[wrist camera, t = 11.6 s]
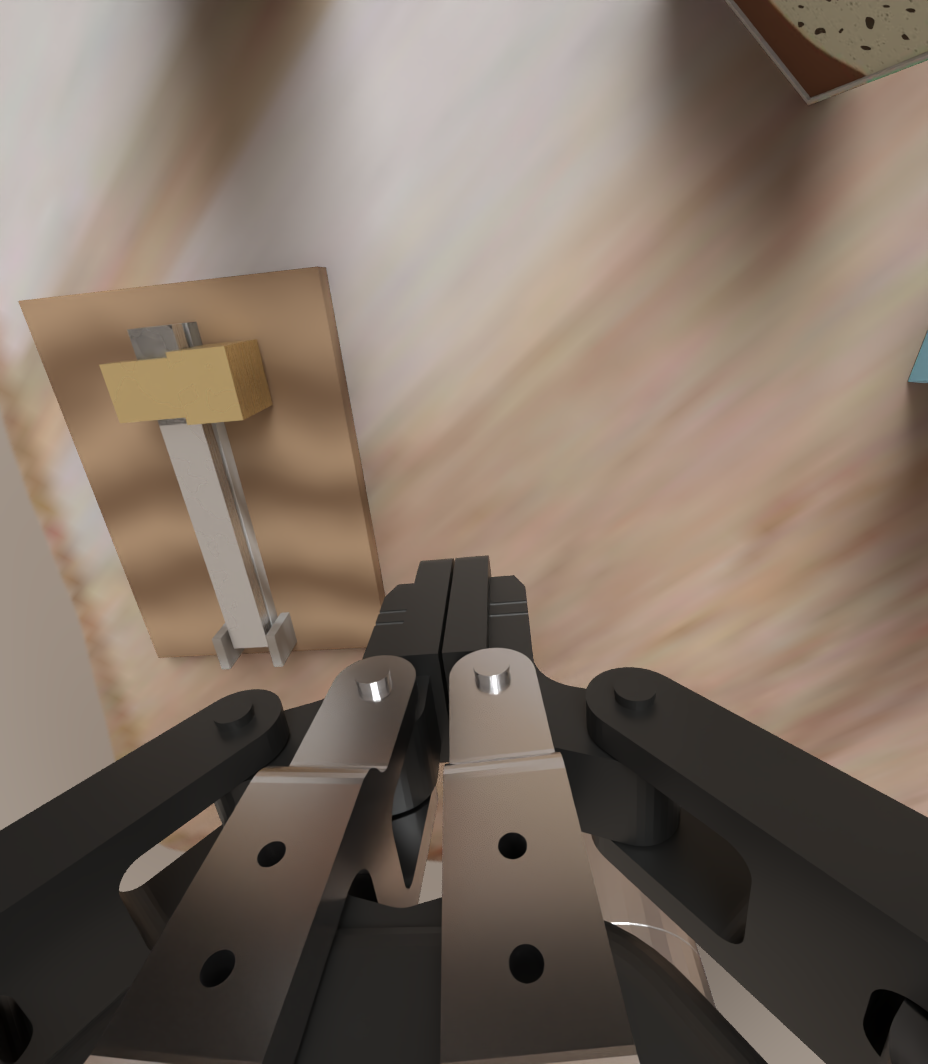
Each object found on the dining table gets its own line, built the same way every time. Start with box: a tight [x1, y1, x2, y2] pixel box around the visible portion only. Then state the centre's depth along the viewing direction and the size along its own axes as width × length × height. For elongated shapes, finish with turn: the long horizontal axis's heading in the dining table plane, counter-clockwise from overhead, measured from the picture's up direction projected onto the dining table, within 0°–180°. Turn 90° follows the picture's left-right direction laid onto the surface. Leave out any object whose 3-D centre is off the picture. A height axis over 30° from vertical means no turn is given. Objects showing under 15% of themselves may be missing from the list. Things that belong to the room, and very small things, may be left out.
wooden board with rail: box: [19, 267, 385, 669], centre depth 34 cm, size 24×17×4 cm
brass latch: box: [99, 339, 272, 425], centre depth 29 cm, size 4×7×4 cm, turn 96°
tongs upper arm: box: [127, 323, 271, 649], centre depth 33 cm, size 20×2×1 cm, turn 6°
